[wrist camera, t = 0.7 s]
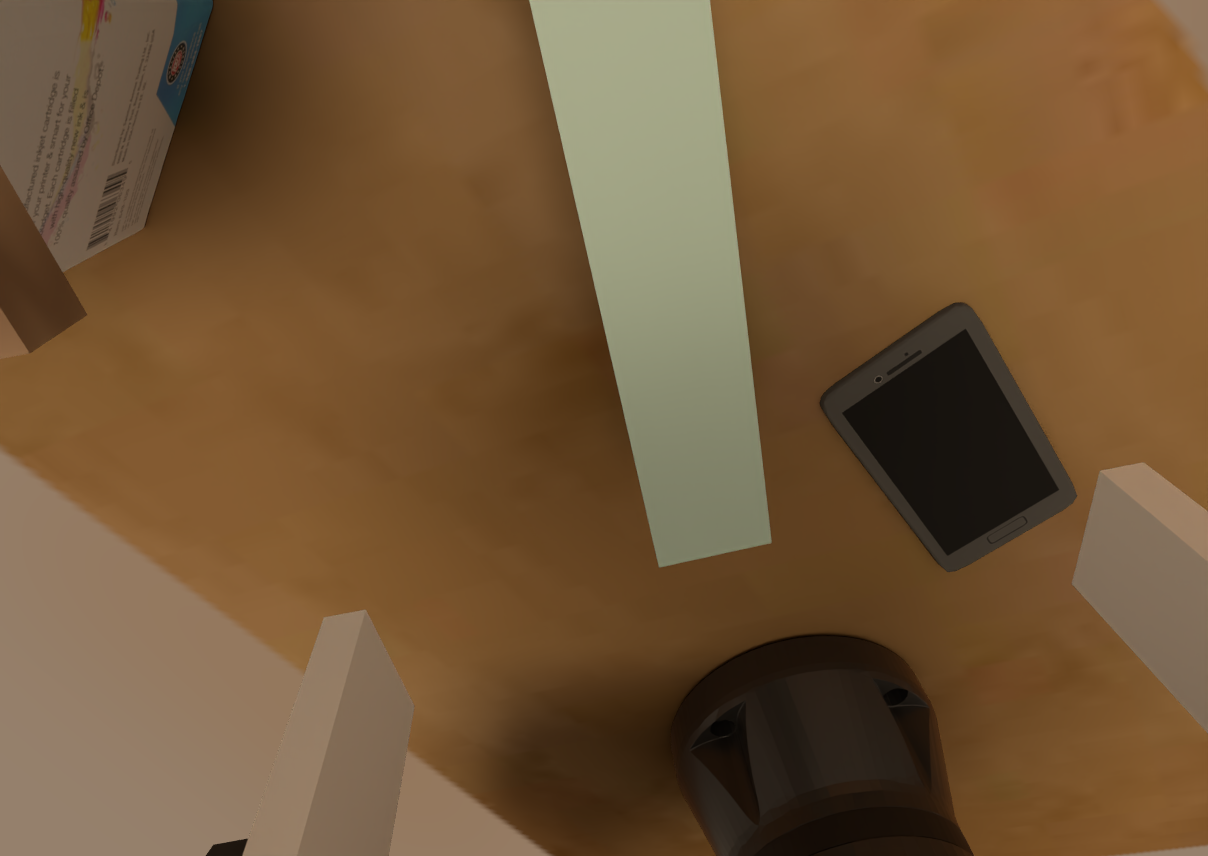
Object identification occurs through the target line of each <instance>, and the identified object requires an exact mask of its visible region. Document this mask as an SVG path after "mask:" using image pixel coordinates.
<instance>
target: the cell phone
mask: <svg viewBox="0 0 1208 856" xmlns="http://www.w3.org/2000/svg"><path fill="white" fill-rule="evenodd" d="M820 405H821V408H822V410H823V411H824V413H825V414H826V416H827V417H828V419H829V421H830V422H831V424H832V425H833V427H834V428H835V429H836V431H837V432H838V433H839V435H840V436H841V437H842V438H843V440H844V441H845V442H846V444H847V445H848V446H849V448H850V449H851V450H852V452H853V453H854V454H855V455H856V457H857V458H858V459H859V461H860V462H861V463H862V465H863V466H864V467H865V469H866V470H867V471H868V472H869V474H870V475H871V476H872V478H873V479H874V480H875V482H876V483H877V484H878V486H879V487H880V488H881V489H882V491H883V492H884V493H885V495H886V496H887V497H888V499H889V500H890V501H891V503H892V504H893V505H894V506H895V508H896V509H897V510H898V512H899V513H900V514H901V516H902V517H903V518H904V520H905V521H906V522H907V523H908V525H909V526H910V527H911V529H912V530H913V531H914V533H915V534H916V535H917V537H918V538H919V539H920V540H921V542H922V543H923V544H924V546H925V547H926V548H927V550H928V551H929V552H930V554H931V555H932V556H933V557H934V559H935V560H936V561H937V563H938V564H939V565H940V566H942V567H943V568H944V569H945V570H946V571H947V572H953V571H957V570H959V569H961V568H963V567H965V566H967V565H969V564H971V563H973V562H974V561H976V560H978V559H980V558H981V557H983V556H985V555H987V554H988V553H990V552H992V551H993V550H995V549H997V548H999V547H1000V546H1002V545H1004V544H1005V543H1007V542H1009V541H1011V540H1012V539H1014V538H1016V537H1018V536H1019V535H1021V534H1023V533H1024V532H1026V531H1028V530H1030V529H1031V528H1033V527H1035V526H1037V525H1038V524H1040V523H1042V522H1043V521H1045V520H1047V519H1049V518H1050V517H1052V516H1054V515H1055V514H1057V513H1059V512H1061V511H1062V510H1064V509H1065V508H1067V507H1068V506H1069V505H1071V504H1072V503H1073V502H1074V500H1075V498H1076V497H1077V495H1076V492H1075V489H1074V486H1073V484H1072V482H1071V480H1070V478H1069V476H1068V474H1067V473H1066V471H1065V469H1064V467H1063V466H1062V464H1061V462H1060V460H1059V458H1058V457H1057V455H1056V453H1055V451H1054V450H1053V448H1052V446H1051V444H1050V442H1049V441H1048V439H1047V437H1046V435H1045V434H1044V432H1043V430H1042V428H1041V426H1040V425H1039V423H1038V421H1037V419H1036V418H1035V416H1034V414H1033V412H1032V410H1031V409H1030V407H1029V405H1028V403H1027V402H1026V400H1025V398H1024V396H1023V394H1022V393H1021V391H1020V389H1019V387H1018V386H1017V384H1016V382H1015V380H1014V378H1013V377H1012V375H1011V373H1010V371H1009V370H1008V368H1007V366H1006V364H1005V362H1004V361H1003V359H1002V357H1001V355H1000V354H999V352H998V350H997V348H996V346H995V345H994V343H993V341H992V339H991V338H990V336H989V334H988V332H987V330H986V329H985V327H984V325H983V323H982V322H981V320H980V319H979V318H978V316H977V315H976V313H975V312H974V311H973V309H972V308H971V307H970V306H968V305H967V304H965V303H961V302H960V303H954V304H952V305H950V306H948V307H946V308H944V309H942V310H940V311H939V312H937V313H936V314H934V315H933V316H931V317H930V318H929V319H927V320H926V321H924V322H923V323H921V324H920V325H919V326H917V327H916V328H914V329H913V330H911V331H910V332H908V333H907V334H906V335H904V336H903V337H901V338H900V339H898V340H897V341H895V342H894V343H893V344H891V345H890V346H888V347H887V348H885V349H884V350H883V351H881V352H880V353H878V354H877V355H875V356H874V357H872V358H871V359H870V360H868V361H867V362H865V363H864V364H862V365H861V366H860V367H858V368H857V369H855V370H854V371H852V372H851V373H849V374H848V375H847V376H845V377H844V378H842V379H841V380H839V381H838V382H836V383H835V384H834V385H833V386H831V387H830V388H829V389H828V390H827V391H826V392H825V393H824V394H823V395H822V397H821V400H820Z"/></svg>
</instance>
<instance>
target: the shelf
mask: <svg viewBox="0 0 1208 856" xmlns="http://www.w3.org/2000/svg"><path fill="white" fill-rule="evenodd" d="M86 315H87V313H86V312H85V310H84V308H83V306H82V305H81V303H80V301H79V300H78V298H77V296H76V294H75V293H74V291H73V289H72V288H71V286H70V284H69V282H68V281H67V279H66V277H65V276H64V274H63V272H62V270H61V269H60V267H59V265H58V263H57V262H56V260H55V258H54V257H53V255H52V253H51V251H50V250H49V248H48V246H47V245H46V243H45V241H44V239H43V238H42V236H41V234H40V233H39V231H38V229H37V227H36V226H35V224H34V222H33V221H32V219H31V217H30V215H29V214H28V212H27V210H26V208H25V207H24V205H23V203H22V202H21V200H20V198H19V196H18V195H17V193H16V191H15V190H14V188H13V186H12V184H11V183H10V181H9V179H8V178H7V176H6V174H5V172H4V171H3V169H2V167H1V165H0V359H3V358H8V357H13V356H18V355H24V354H29V353H31V352H33V351H34V350H36V349H37V348H39V347H40V346H42V345H43V344H44V343H46V342H47V341H49V340H50V339H52V338H53V337H55V336H56V335H58V334H59V333H61V332H62V331H64V330H65V329H67V328H68V327H70V326H71V325H73V324H74V323H76V322H77V321H79V320H80V319H82V318H83V317H85V316H86Z"/></svg>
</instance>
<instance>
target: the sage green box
mask: <svg viewBox="0 0 1208 856" xmlns="http://www.w3.org/2000/svg"><path fill="white" fill-rule="evenodd" d="M529 1H530V5H531V10H532V14H533V19H534V23H535V27H536V32H537V36H538V40H539V45H540V49H541V54H542V58H543V62H544V67H545V71H546V75H547V80H548V84H549V89H550V93H551V97H552V102H553V106H554V110H555V115H556V119H557V124H558V128H559V132H560V137H561V141H562V145H563V150H564V154H565V159H566V163H567V167H568V172H569V176H570V180H571V185H572V189H573V194H574V198H575V202H576V207H577V211H578V215H579V220H580V224H581V229H582V233H583V237H584V242H585V246H586V250H587V255H588V259H589V263H590V268H591V272H592V277H593V281H594V285H595V290H596V294H597V298H598V303H599V307H600V312H601V316H602V320H603V325H604V329H605V333H606V338H607V342H608V347H609V351H610V355H611V360H612V364H613V368H614V373H615V377H616V382H617V386H618V390H619V395H620V399H621V403H622V408H623V412H624V417H625V421H626V425H627V430H628V434H629V438H630V443H631V447H632V452H633V456H634V460H635V465H636V469H637V473H638V478H639V482H640V487H641V491H642V495H643V500H644V504H645V508H646V513H647V517H648V522H649V526H650V530H651V535H652V539H653V543H654V548H655V552H656V557H657V561H658V565H659V567H664V566H669V565H673V564H678V563H682V562H687V561H691V560H696V559H700V558H705V557H710V556H714V555H719V554H723V553H728V552H732V551H737V550H741V549H746V548H751V547H755V546H760V545H764V544H769V543H772V541H771V532H770V523H769V515H768V506H767V497H766V488H765V480H764V471H763V462H762V453H761V445H760V436H759V427H758V418H757V409H756V401H755V392H754V383H753V374H752V366H751V357H750V348H749V339H748V331H747V322H746V313H745V304H744V295H743V287H742V278H741V269H740V260H739V252H738V243H737V234H736V225H735V216H734V208H733V199H732V190H731V181H730V173H729V164H728V155H727V146H726V138H725V129H724V120H723V111H722V102H721V94H720V85H719V76H718V67H717V59H716V50H715V41H714V32H713V24H712V15H711V6H710V0H529Z"/></svg>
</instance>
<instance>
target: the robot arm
mask: <svg viewBox="0 0 1208 856" xmlns="http://www.w3.org/2000/svg"><path fill="white" fill-rule="evenodd" d="M1072 585H1073V586H1074V587H1075V588H1076V589H1077V590H1078V591H1079V592H1080V594H1081V595H1082V596H1083V597H1084V598H1085V599H1086V600H1087V601H1088V602H1089V603H1090V605H1091V606H1092V607H1093V608H1094V609H1095V610H1096V611H1097V612H1098V613H1099V614H1100V616H1101V617H1102V618H1103V619H1104V620H1105V621H1106V622H1107V623H1108V624H1109V625H1110V626H1111V628H1112V629H1113V630H1114V631H1115V632H1116V633H1117V634H1118V635H1119V636H1120V637H1121V639H1122V640H1123V641H1124V642H1125V643H1126V644H1127V645H1128V646H1129V647H1130V648H1131V650H1132V651H1133V652H1134V653H1135V654H1136V655H1137V656H1138V657H1139V658H1140V659H1141V661H1142V662H1143V663H1144V664H1145V665H1146V666H1147V667H1148V668H1149V669H1150V670H1151V672H1152V673H1153V674H1154V675H1155V676H1156V677H1157V678H1158V679H1159V680H1160V681H1161V682H1162V684H1163V685H1164V686H1165V687H1166V688H1167V689H1168V690H1169V691H1170V692H1171V693H1172V695H1173V696H1174V697H1175V698H1176V699H1177V700H1178V701H1179V702H1180V703H1181V704H1182V706H1183V707H1184V708H1185V709H1186V710H1187V711H1188V712H1189V713H1190V714H1191V715H1192V717H1193V718H1194V719H1195V720H1196V721H1197V722H1198V723H1199V724H1200V725H1201V726H1202V727H1203V729H1204V730H1205V731H1206V732H1207V733H1208V511H1206V510H1205V509H1204V508H1203V507H1201V506H1200V505H1199V504H1197V503H1196V502H1195V501H1193V500H1192V499H1191V498H1189V497H1188V496H1187V495H1186V494H1184V493H1183V492H1182V491H1180V490H1179V489H1178V488H1176V487H1175V486H1174V485H1173V484H1171V483H1170V482H1169V481H1167V480H1166V479H1165V478H1163V477H1162V476H1161V475H1160V474H1158V473H1157V472H1156V471H1154V470H1153V469H1152V468H1150V467H1149V466H1148V465H1146V464H1145V463H1138V464H1133V465H1128V466H1122V467H1117V468H1112V469H1107V470H1101V471H1100V472H1099V476H1098V480H1097V484H1096V488H1095V492H1094V496H1093V501H1092V505H1091V509H1090V513H1089V517H1088V521H1087V525H1086V529H1085V533H1084V537H1083V541H1082V545H1081V549H1080V553H1079V557H1078V561H1077V565H1076V569H1075V573H1074V577H1073V581H1072ZM413 712H414V704H413V702H412V700H411V698H410V696H409V694H408V692H407V690H406V688H405V686H404V684H403V682H402V680H401V678H400V676H399V674H398V673H397V671H396V669H395V667H394V665H393V663H392V661H391V659H390V657H389V655H388V653H387V651H386V649H385V647H384V645H383V643H382V641H381V639H380V637H379V635H378V633H377V631H376V629H375V627H374V625H373V623H372V621H371V619H370V617H369V615H368V613H367V611H366V610H361V611H356V612H351V613H346V614H340V615H335V616H330V617H324V619H323V622H322V625H321V628H320V631H319V633H318V636H317V639H316V642H315V645H314V648H313V651H312V654H311V657H310V660H309V663H308V666H307V669H306V671H305V674H304V677H303V680H302V684H301V686H300V689H299V692H298V695H297V698H296V701H295V704H294V706H293V709H292V712H291V715H290V718H289V721H288V724H287V727H286V730H285V733H284V736H283V739H282V742H281V745H280V747H279V750H278V753H277V756H276V759H275V762H274V765H273V768H272V771H271V774H270V777H269V779H268V782H267V785H266V788H265V791H264V794H263V797H262V800H261V803H260V806H259V809H258V812H257V815H256V817H255V820H254V823H253V826H252V829H251V832H250V835H249V838H248V839H244V840H237V841H232V842H227V843H221V844H215V845H213V846H212V848H211V849H210V850H209V852H208V853H207V855H206V856H389V851H390V845H391V839H392V834H393V827H394V822H395V816H396V810H397V805H398V799H399V793H400V787H401V781H402V776H403V770H404V764H405V758H406V752H407V747H408V741H409V735H410V729H411V723H412V718H413ZM671 750H672V755H673V760H674V766H675V771H676V776H677V780H678V784H679V786H680V789H681V792H682V794H683V796H684V798H685V800H686V802H687V803H688V805H689V807H690V809H691V811H692V812H693V814H694V816H695V818H696V820H697V821H698V823H699V825H700V827H701V829H702V830H703V832H704V834H705V836H706V838H707V840H708V841H709V843H710V845H711V847H712V849H713V850H714V852H715V854H716V856H974V855H973V853H972V851H971V849H970V847H969V845H968V843H967V841H966V839H965V837H964V835H963V834H962V832H961V830H960V827H959V825H958V823H957V821H956V818H955V815H954V809H953V804H952V799H951V793H950V788H949V782H948V777H947V772H946V766H945V761H944V756H943V750H942V745H941V740H940V734H939V729H938V724H937V719H936V715H935V712H934V710H933V707H932V705H931V703H930V700H929V699H928V697H927V695H926V693H925V692H924V690H923V688H922V686H921V685H920V683H919V681H918V679H917V678H916V676H915V674H914V673H913V671H912V669H911V668H910V667H909V666H908V664H907V663H906V662H905V661H904V660H902V659H901V658H900V657H899V656H898V655H896V654H895V653H893V652H891V651H890V650H888V649H886V648H884V647H882V646H879V645H877V644H874V643H871V642H868V641H864V640H860V639H855V638H849V637H839V636H814V637H804V638H797V639H791V640H786V641H781V642H778V643H774V644H770V645H767V646H764V647H761V648H758V649H756V650H753V651H751V652H748V653H746V654H744V655H741V656H739V657H737V658H735V659H733V660H732V661H730V662H728V663H726V664H725V665H723V666H722V667H720V668H718V669H717V670H716V671H714V672H713V673H711V674H710V675H709V676H708V677H706V678H705V679H704V680H703V681H702V682H701V683H699V684H698V685H697V686H696V687H695V688H694V689H693V691H692V692H691V693H690V694H689V695H688V696H687V698H686V699H685V700H684V702H683V703H682V705H681V707H680V708H679V710H678V712H677V714H676V716H675V719H674V722H673V725H672V729H671Z"/></svg>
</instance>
